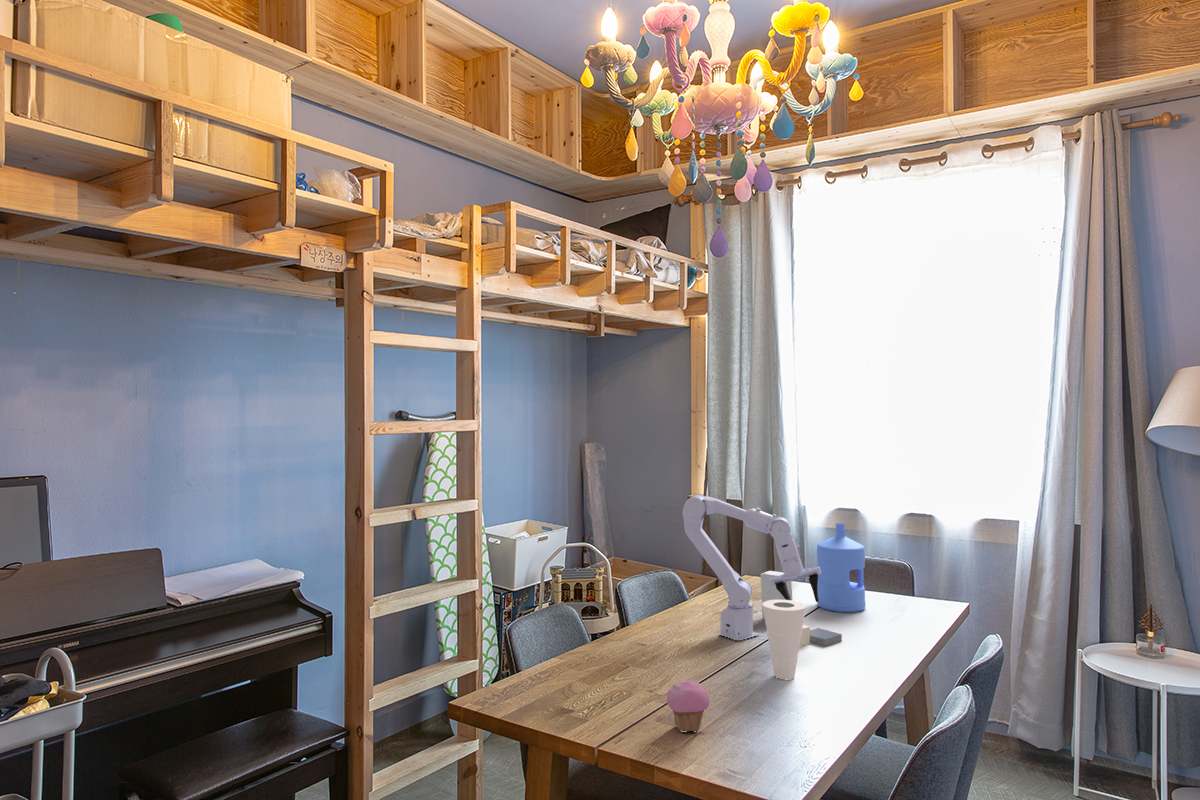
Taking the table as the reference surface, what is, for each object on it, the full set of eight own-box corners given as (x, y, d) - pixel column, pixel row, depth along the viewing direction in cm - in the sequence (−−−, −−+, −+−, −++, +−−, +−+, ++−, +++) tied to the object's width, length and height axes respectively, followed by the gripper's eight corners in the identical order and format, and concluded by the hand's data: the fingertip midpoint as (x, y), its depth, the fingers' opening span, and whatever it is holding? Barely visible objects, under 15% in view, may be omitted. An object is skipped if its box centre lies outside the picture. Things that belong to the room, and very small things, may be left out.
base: (825, 646, 212) (825, 639, 212) (801, 639, 218) (801, 632, 218) (841, 641, 217) (841, 634, 217) (818, 634, 223) (818, 627, 223)
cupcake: (705, 721, 162) (705, 674, 162) (712, 738, 153) (712, 689, 153) (664, 721, 161) (664, 675, 162) (669, 739, 153) (669, 690, 153)
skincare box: (793, 620, 239) (793, 573, 239) (783, 624, 235) (782, 576, 235) (771, 615, 245) (770, 569, 245) (760, 618, 241) (760, 572, 241)
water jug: (816, 611, 249) (816, 526, 250) (817, 599, 264) (816, 520, 265) (866, 614, 245) (865, 528, 245) (864, 602, 260) (863, 521, 260)
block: (800, 647, 212) (799, 629, 212) (787, 643, 215) (786, 625, 216) (809, 644, 215) (809, 626, 215) (796, 640, 218) (796, 623, 218)
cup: (775, 686, 182) (775, 611, 182) (755, 671, 192) (754, 601, 192) (814, 682, 184) (814, 608, 185) (792, 667, 195) (792, 598, 195)
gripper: (764, 567, 218) (778, 612, 217) (813, 555, 213) (828, 601, 212) (766, 561, 225) (781, 606, 223) (814, 550, 220) (829, 595, 219)
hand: (804, 603), depth 218 cm, fingers open, 7 cm apart
